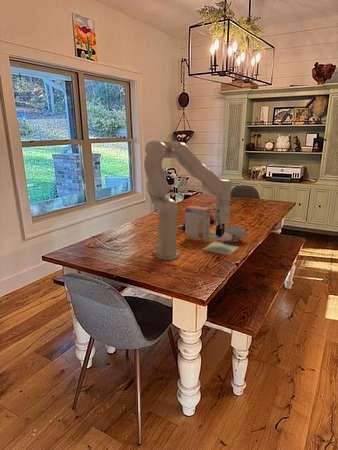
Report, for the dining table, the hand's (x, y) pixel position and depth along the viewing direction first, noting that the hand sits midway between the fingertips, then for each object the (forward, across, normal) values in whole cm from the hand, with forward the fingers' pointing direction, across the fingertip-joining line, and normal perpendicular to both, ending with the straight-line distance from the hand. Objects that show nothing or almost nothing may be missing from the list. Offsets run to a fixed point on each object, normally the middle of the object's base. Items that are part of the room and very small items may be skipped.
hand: (219, 234), depth 177 cm
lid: (+2, 0, 0) cm, 2 cm away
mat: (+9, +1, -1) cm, 9 cm away
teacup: (+8, +17, -3) cm, 19 cm away
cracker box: (+9, +6, +17) cm, 20 cm away
